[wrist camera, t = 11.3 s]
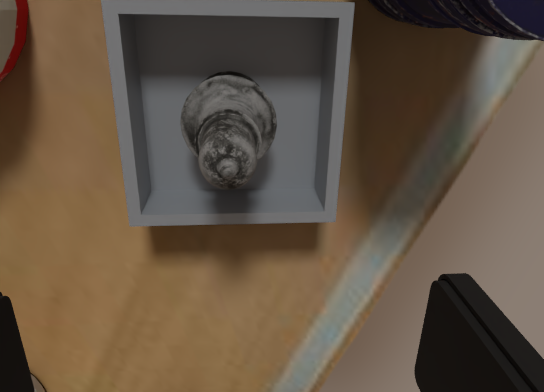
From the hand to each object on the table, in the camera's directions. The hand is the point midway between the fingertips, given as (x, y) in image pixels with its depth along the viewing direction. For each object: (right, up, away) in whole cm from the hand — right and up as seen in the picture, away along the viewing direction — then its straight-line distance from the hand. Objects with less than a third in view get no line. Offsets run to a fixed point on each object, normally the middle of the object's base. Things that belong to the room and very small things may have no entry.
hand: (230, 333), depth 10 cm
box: (-2, +10, +21) cm, 23 cm away
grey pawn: (-2, +9, +20) cm, 22 cm away
